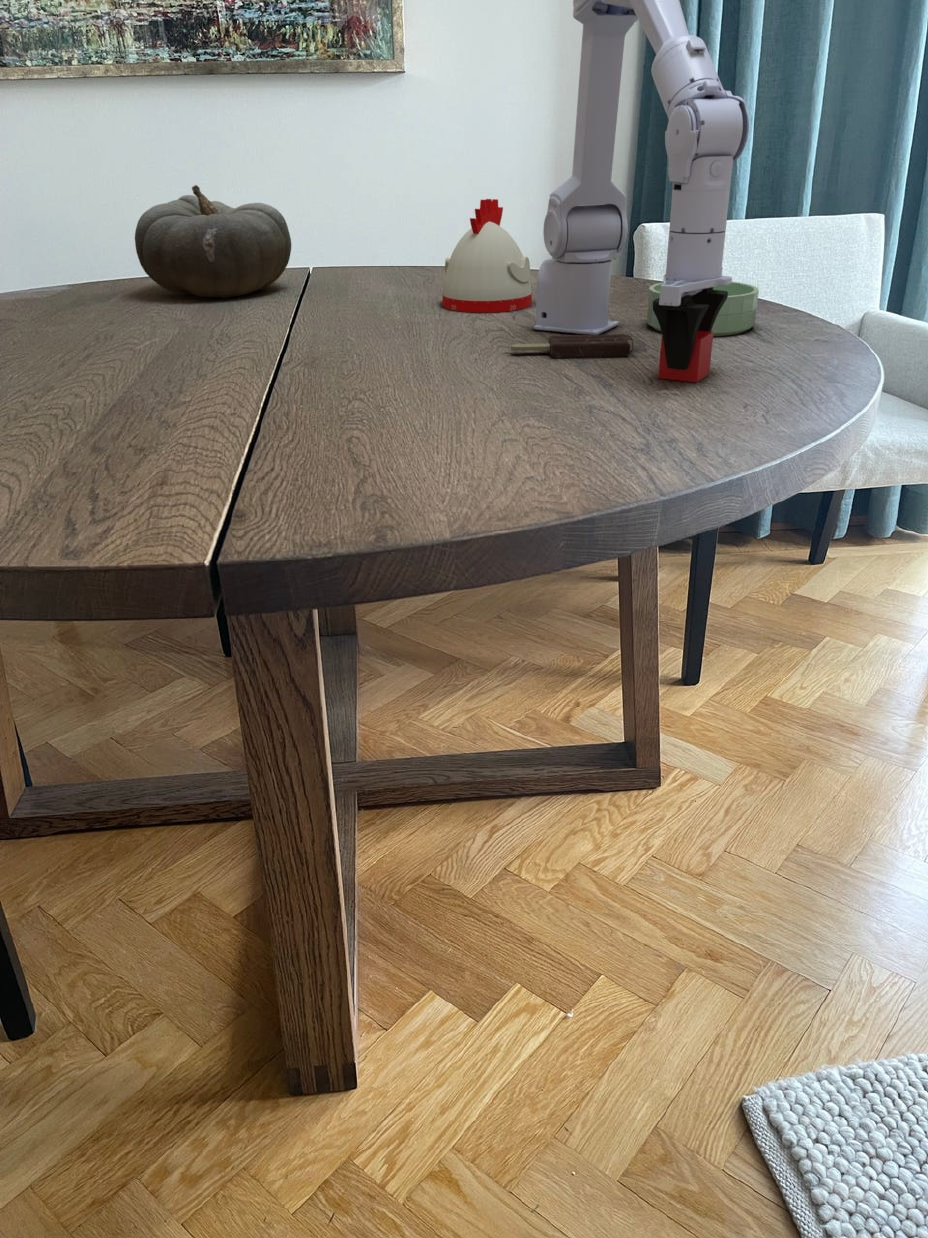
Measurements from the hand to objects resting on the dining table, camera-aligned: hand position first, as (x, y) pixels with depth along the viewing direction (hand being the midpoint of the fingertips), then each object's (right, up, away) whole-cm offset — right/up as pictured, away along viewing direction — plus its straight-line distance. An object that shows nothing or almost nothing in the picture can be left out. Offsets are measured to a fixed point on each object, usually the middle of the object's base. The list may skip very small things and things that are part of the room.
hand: (685, 363), depth 103 cm
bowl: (+8, +12, +24) cm, 28 cm away
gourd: (-66, +28, +58) cm, 93 cm away
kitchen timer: (-21, +21, +42) cm, 52 cm away
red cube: (0, -1, +1) cm, 1 cm away
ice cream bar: (-11, +4, +12) cm, 17 cm away
